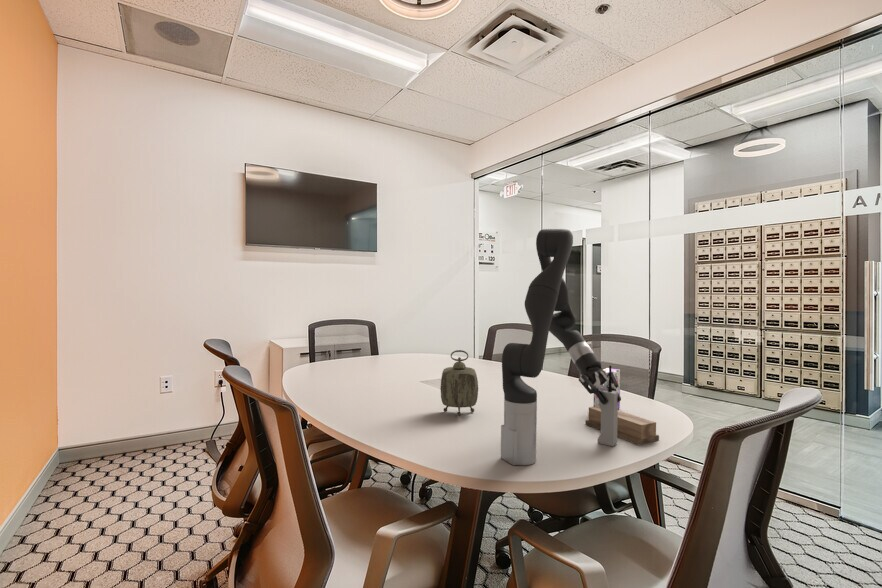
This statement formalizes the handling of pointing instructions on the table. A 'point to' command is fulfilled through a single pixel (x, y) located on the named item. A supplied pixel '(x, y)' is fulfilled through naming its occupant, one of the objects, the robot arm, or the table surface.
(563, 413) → the table surface
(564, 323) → the robot arm
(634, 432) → the walnut ridge
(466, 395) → the tabletop clock
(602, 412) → the vintage mobile phone
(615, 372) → the candy box
